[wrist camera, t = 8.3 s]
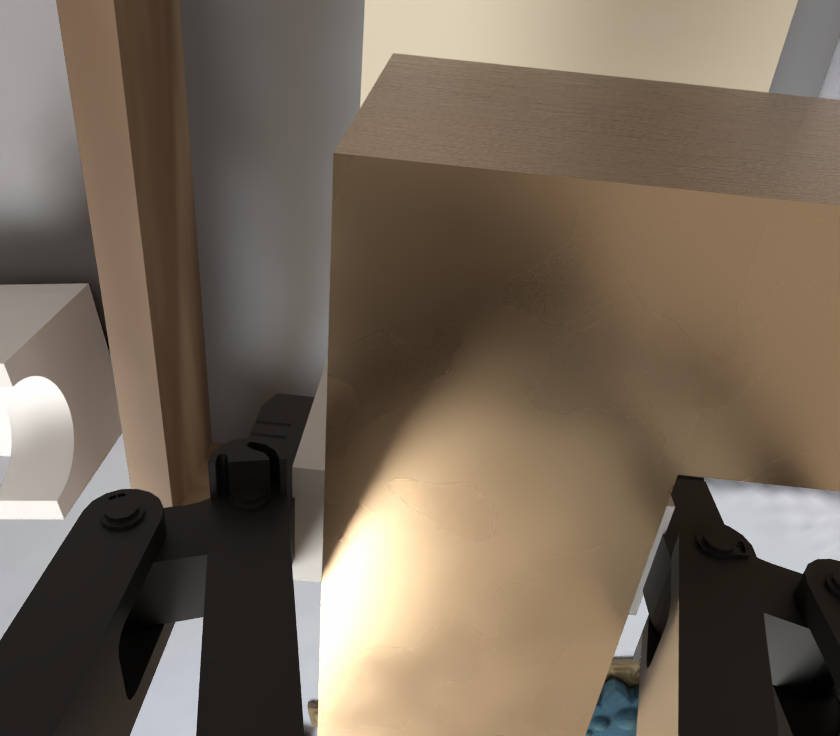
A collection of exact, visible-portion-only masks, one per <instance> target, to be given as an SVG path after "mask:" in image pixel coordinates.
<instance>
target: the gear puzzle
mask: <svg viewBox="0 0 840 736" xmlns="http://www.w3.org/2000/svg"><path fill="white" fill-rule="evenodd" d="M632 659H633V658H613V659H612V662H611V665H610V667H609V670H608V673H607V676H606V679H605V682H604V684H603V687H602V690H601V693H600V696H599V698H598V701H597V704H596V707H595V710H594V713H593V715H592V718H591V721H590V724H589V727H588V729H587V732H586V735H585V736H636V733H637V716H638V699H639V681H640V671H638V669H639V668H640V661H635V660H632ZM308 712H309V716H310V720H311V724H312V726H313V727H318V702H308Z"/></svg>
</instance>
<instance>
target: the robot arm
mask: <svg viewBox="0 0 840 736" xmlns="http://www.w3.org/2000/svg"><path fill="white" fill-rule="evenodd" d="M327 369H328V358H327V361H326V364H325V367H324V370H323V373H322V376H321V380H320V383H319V386H318V389H317V392H316V395H315V397H308V396H299V395H289V394H280V393H277V394H276V395H275V396H273V397H272V398H271V399H270V400H268V401H267V402H266V403H265V404H263V405H262V407H261V409H260V412H259V414H258V416H257V419H256V422H255V424H254V426H253V428H252V430H251V433H250V436H249V437H248V438H243V439H237V440H232V441H230V442H228V443H225V444H223V445H221V446H219V447H218V448H217V449H216V450H215V451H214V452H213V453H212V454H211V456H210V458H209V461H208V474H209V487H210V498H209V499H206V500H204V501H201V502H198V503H193V504H188V505H182V506H174V507H166V508H163V505H162V503H161V501H160V499H159V498H158V497H157V496H155V495H154V494H152V493H151V492H148V491H144V490H140V489H121V490H117V491H114V492H110V493H106V494H104V495H103V496H101V497H99V498H97V499H95V500H94V501H92V502H91V503H90V504H89V505H88V506H87V507H86V508H85V509H84V511H83V512H82V513H81V515H80V517H79V518H78V520H77V521H76V523H75V524H74V526H73V528H72V529H71V531H70V532H69V534H68V535H67V537H66V538H65V540H64V542H63V543H62V545H61V546H60V548H59V549H58V551H57V553H56V554H55V556H54V557H53V559H52V560H51V562H50V563H49V565H48V567H47V568H46V570H45V571H44V573H43V574H42V576H41V578H40V579H39V581H38V582H37V584H36V585H35V587H34V588H33V590H32V592H31V593H30V595H29V596H28V598H27V599H26V601H25V603H24V604H23V606H22V607H21V609H20V610H19V612H18V613H17V615H16V617H15V618H14V620H13V621H12V623H11V624H10V626H9V628H8V629H7V631H6V632H5V634H4V635H3V637H2V639H1V640H0V736H130V733H131V731H132V728H133V726H134V724H135V721H136V719H137V716H138V714H139V711H140V709H141V706H142V704H143V701H144V699H145V696H146V694H147V691H148V689H149V686H150V684H151V681H152V679H153V676H154V674H155V671H156V669H157V666H158V664H159V661H160V659H161V656H162V654H163V651H164V649H165V646H166V644H167V641H168V639H169V636H170V634H171V631H172V629H173V627H174V624H175V622H177V621H183V620H188V619H194V618H200V617H203V634H202V650H201V667H200V683H199V700H198V716H197V733H196V736H304V727H303V712H302V698H301V684H300V670H299V656H298V641H297V627H296V613H295V599H294V585H293V580H300V581H310V582H320V583H322V554H323V517H324V480H325V443H326V406H327ZM292 564H293V571H292ZM643 594H644V598H645V601H646V605H647V609H648V612H649V616H648V618H647V621H646V623H645V626H644V629H643V631H642V634H641V637H640V639H639V642H638V645H637V647H636V650H635V653H634V656H633V659H632V660H635V661H639V658H640V656H641V664H640V681H639V699H638V716H637V733H636V736H840V561H837V560H833V559H817V560H815V561H813V562H811V563H809V564H808V565H807V567H806V569H805V571H804V573H803V574H801V573H798V572H795V571H792V570H789V569H786V568H783V567H780V566H777V565H774V564H771V563H769V562H766V561H764V560H761V559H759V558H757V557H756V554H755V552H754V549H753V547H752V545H751V544H750V543H749V542H748V541H747V539H746V538H745V537H744V536H743V535H741V534H740V533H738V532H737V531H735V530H734V529H732V528H731V527H729V526H726V525H724V522H723V520H722V518H721V516H720V513H719V511H718V509H717V507H716V504H715V502H714V500H713V498H712V495H711V493H710V491H709V488H708V486H707V484H706V482H704V477H696V476H687V475H678V476H677V479H676V481H675V484H674V487H673V490H672V493H671V495H670V498H669V501H668V504H667V507H666V510H665V512H664V515H663V518H662V521H661V524H660V526H659V529H658V532H657V535H656V538H655V541H654V543H653V546H652V549H651V552H650V555H649V558H648V560H647V563H646V566H645V569H644V572H643V574H642V577H641V580H640V583H639V586H638V589H637V591H636V594H635V597H634V600H633V603H632V605H631V608H630V611H629V615H636V614H637V611H638V608H639V605H640V603H641V600H642V597H643Z"/></svg>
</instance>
